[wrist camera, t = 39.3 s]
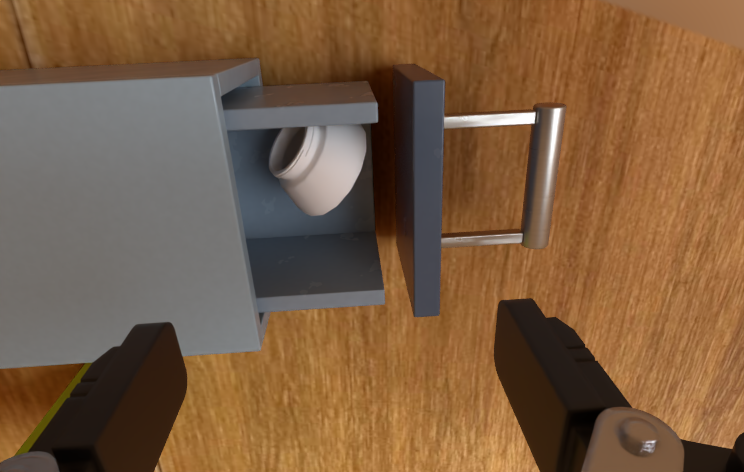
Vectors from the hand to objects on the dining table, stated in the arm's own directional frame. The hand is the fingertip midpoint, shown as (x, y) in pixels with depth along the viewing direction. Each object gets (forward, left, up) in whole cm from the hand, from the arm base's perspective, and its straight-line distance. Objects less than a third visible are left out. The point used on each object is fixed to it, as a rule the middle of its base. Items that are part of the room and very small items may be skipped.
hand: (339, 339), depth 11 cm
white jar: (0, 0, -13) cm, 13 cm away
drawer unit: (+5, -9, -17) cm, 20 cm away
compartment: (-1, +1, -16) cm, 16 cm away
